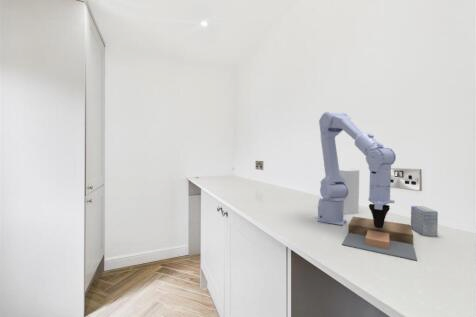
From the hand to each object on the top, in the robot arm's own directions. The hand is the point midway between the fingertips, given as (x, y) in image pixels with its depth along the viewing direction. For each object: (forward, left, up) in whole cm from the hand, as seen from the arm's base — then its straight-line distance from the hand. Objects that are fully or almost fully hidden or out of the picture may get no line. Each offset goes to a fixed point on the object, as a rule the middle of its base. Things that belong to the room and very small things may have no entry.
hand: (378, 227), depth 74 cm
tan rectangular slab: (0, -4, -4) cm, 5 cm away
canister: (-16, +34, -4) cm, 38 cm away
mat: (0, -6, -4) cm, 7 cm away
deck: (0, +7, -4) cm, 8 cm away
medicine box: (+13, +17, -4) cm, 22 cm away
